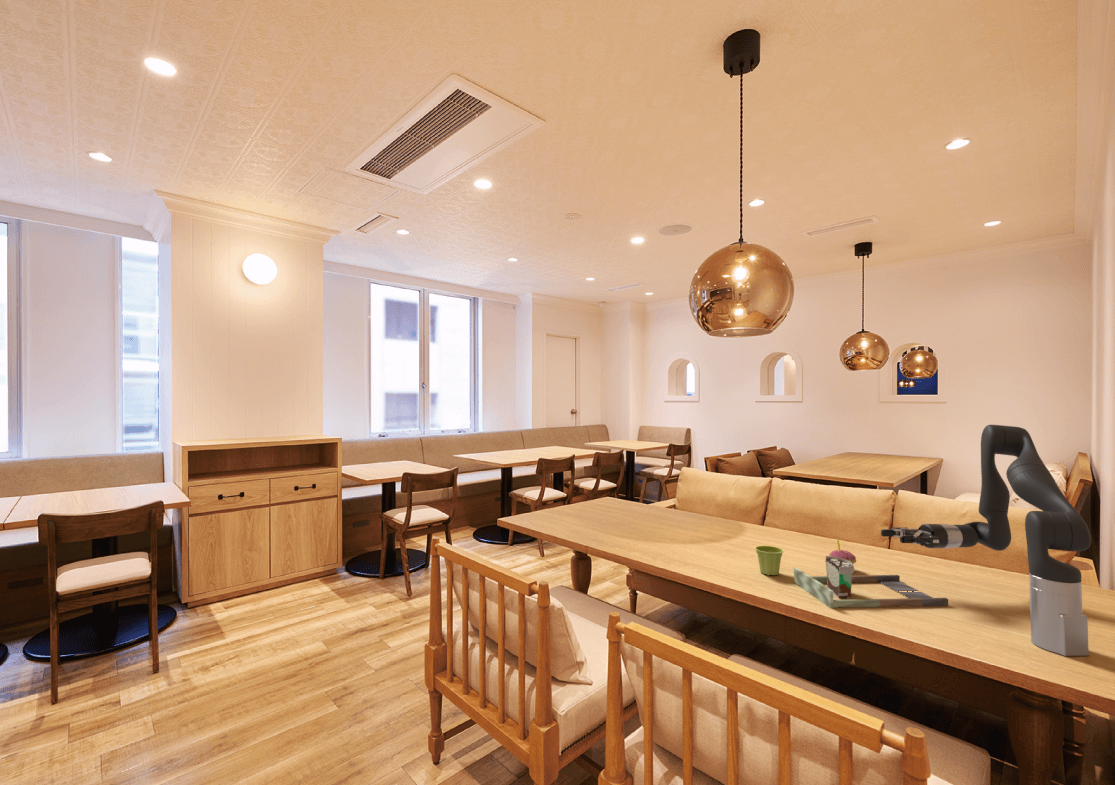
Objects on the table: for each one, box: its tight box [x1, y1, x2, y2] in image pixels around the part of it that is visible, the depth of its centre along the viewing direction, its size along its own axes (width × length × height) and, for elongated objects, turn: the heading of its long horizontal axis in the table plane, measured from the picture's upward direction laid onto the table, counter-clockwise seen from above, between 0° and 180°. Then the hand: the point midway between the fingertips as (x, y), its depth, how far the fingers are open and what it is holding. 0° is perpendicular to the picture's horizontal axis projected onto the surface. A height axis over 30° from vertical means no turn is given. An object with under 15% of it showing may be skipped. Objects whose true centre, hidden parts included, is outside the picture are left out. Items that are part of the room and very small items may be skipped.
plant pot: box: [754, 545, 785, 576], centre depth 176 cm, size 9×9×9 cm
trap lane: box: [793, 567, 949, 609], centre depth 157 cm, size 21×36×5 cm, turn 92°
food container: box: [824, 555, 856, 599], centre depth 158 cm, size 12×6×10 cm, turn 170°
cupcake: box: [828, 537, 857, 565], centre depth 179 cm, size 9×8×12 cm
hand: (891, 536), depth 157 cm, fingers open, 8 cm apart
